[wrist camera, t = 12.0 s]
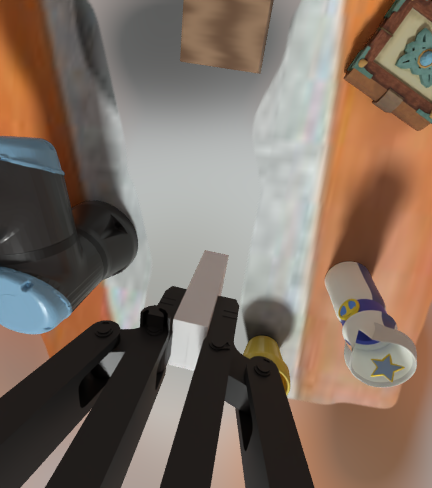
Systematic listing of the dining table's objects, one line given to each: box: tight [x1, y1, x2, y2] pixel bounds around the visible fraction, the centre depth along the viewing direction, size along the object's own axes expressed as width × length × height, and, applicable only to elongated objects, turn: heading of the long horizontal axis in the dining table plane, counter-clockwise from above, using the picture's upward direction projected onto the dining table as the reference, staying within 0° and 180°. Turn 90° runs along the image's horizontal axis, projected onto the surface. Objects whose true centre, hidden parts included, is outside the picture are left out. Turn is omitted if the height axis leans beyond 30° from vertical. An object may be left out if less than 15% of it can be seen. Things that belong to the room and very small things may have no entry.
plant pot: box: [243, 336, 290, 396], centre depth 58 cm, size 10×10×10 cm
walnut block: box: [180, 0, 274, 73], centre depth 36 cm, size 10×6×13 cm
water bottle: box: [325, 261, 417, 387], centre depth 42 cm, size 8×8×25 cm
